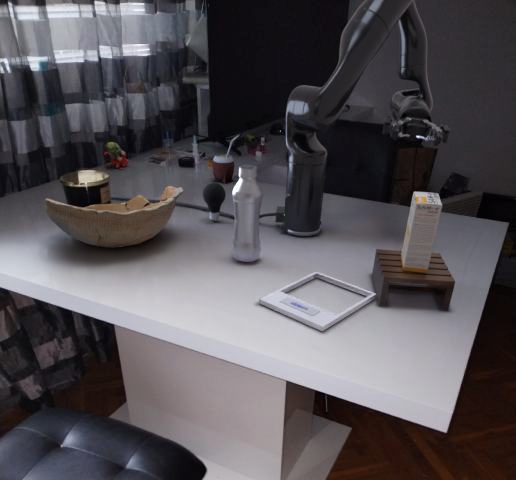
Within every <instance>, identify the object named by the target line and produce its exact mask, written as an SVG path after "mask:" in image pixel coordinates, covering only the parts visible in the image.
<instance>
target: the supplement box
mask: <svg viewBox="0 0 516 480" xmlns="http://www.w3.org/2000/svg"><path fill="white" fill-rule="evenodd" d="M442 209H443V203H442V201H441V198H440V195H439V193H437V192H427V191H413V194H412V196H411V202H410V207H409V214H408V217H407V224H406V227H405V228H406V229H405V230H406V231H405V233H404V239H403V243H402V249H401V251H402V253H401V259H402V267H403V270H404V271H412V272H422V273H427V271H428V267H429V262H430V258H431V253H433V248H434V244H435V240H436V235H437V231H438V227H439V224H440V223H439V222H440V217H441V213H442Z"/></svg>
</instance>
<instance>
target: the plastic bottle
mask: <svg viewBox="0 0 516 480" xmlns="http://www.w3.org/2000/svg"><path fill="white" fill-rule="evenodd" d="M238 177H239V178H238V181H237V182H236V183H235V184H234V186H233V188H232V191H231V198H232V205H233V215H234V217H235V218H234V227H233V228H234V229H233V238H232V243H231V253H232V256H233V257H234V259H235V260H237V261H240V262H245V263H250V262H255V261H257V260H258V259H259V258H260V257H261V251H262V245H261V239H260V219H259V217H260V215H261V207H262V201H263V196H264V195H263V190H262V187H261V185H260V184H259V182H258V181H257V177H258V167H257V166H255V165H251V164H242V165H240V166H239V167H238Z"/></svg>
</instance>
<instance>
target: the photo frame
mask: <svg viewBox="0 0 516 480" xmlns="http://www.w3.org/2000/svg"><path fill="white" fill-rule="evenodd" d="M316 278H317V279H320V280H321V281H322V280H323V281H325V282H328V283H330V284H333V285H336V286H339V287H340V288H343V289H346V290H349V291H350V292H351V291H352V292H355V293H357V294H360V295H362V296H364V298H363V299H361V300H359V301H358V302H356V303H354V304H353V305H351V306H350V307H349V306H348V308H346V309H344V310H342V311H341V312H340V313H338V314H336V313H334V312H332V311H329V310H326V309H324V308H322V307H319V306H317V305H314V304H312V303H311V302H310V303H309V302H307V301H305V300H302V299H300V298H298V297H294V296H293V295H290V294H289V293H287V292H290V291H292V290H293V289H296V288H298V287H300V286H303V284H306V283H308V282H310V281H312V280H314V279H316ZM375 299H377V294H376V292H373V291H370V290H368V289H365V288H362V287H360V286H357V285H354V284H351V283H349V282H346V281H344V280H340V279H338V278H335V277H332V276H329V275H328V274H325V273H323V272H319V271H314V272H312V273H310V274H308V275H306V276H303V277H302V278H299V279H297V280H296V281H293V282H291V283H289V284H287V285H285V286H283V287H281V288H278V289H277V290H274V291H273V292H271V293H269V294H267V295H265V296H263V297H260V298H259V300H258V304H259V305H262V306H264V307H266V308H268V309H271V310H273V311H276V312H278V313H280V314H282V315H284V316H286V317H289V318H291V319H294V320H296V321H298V322H300V323H303V324H305V325H307V326H309V327H311V328H314V329H316V330H318V331H320V332H324V331H325V330H327V329H329V328H330V327H332V326H334V325H335V324H337V323H338V322H340V321H342V320H343V319H345V318H347V317H348V316H350V315H351V314H353V313H355V312H356V311H357V310H359V309H361V308H363V307H364V306H366V305H368V304H369V303H370V302H373V301H374V300H375Z"/></svg>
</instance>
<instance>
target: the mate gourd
mask: <svg viewBox="0 0 516 480" xmlns="http://www.w3.org/2000/svg"><path fill="white" fill-rule="evenodd" d="M239 137H240V134H238V135H236V136H235V137H233V138H232V139H231V140H230V143H229V147H228V149H227V153H220V154H216V155H214V157H213V159H212V174H213V178H214V179H213V183H218V182H222V183H223V184H224V185H225V184H227V182H234V179H233V177H234V173H235V160H234V158H233V156H232V155H231V154H230V151H231V148H232V145H233V144H234V141H235V140H236V139H237V138H239Z"/></svg>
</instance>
